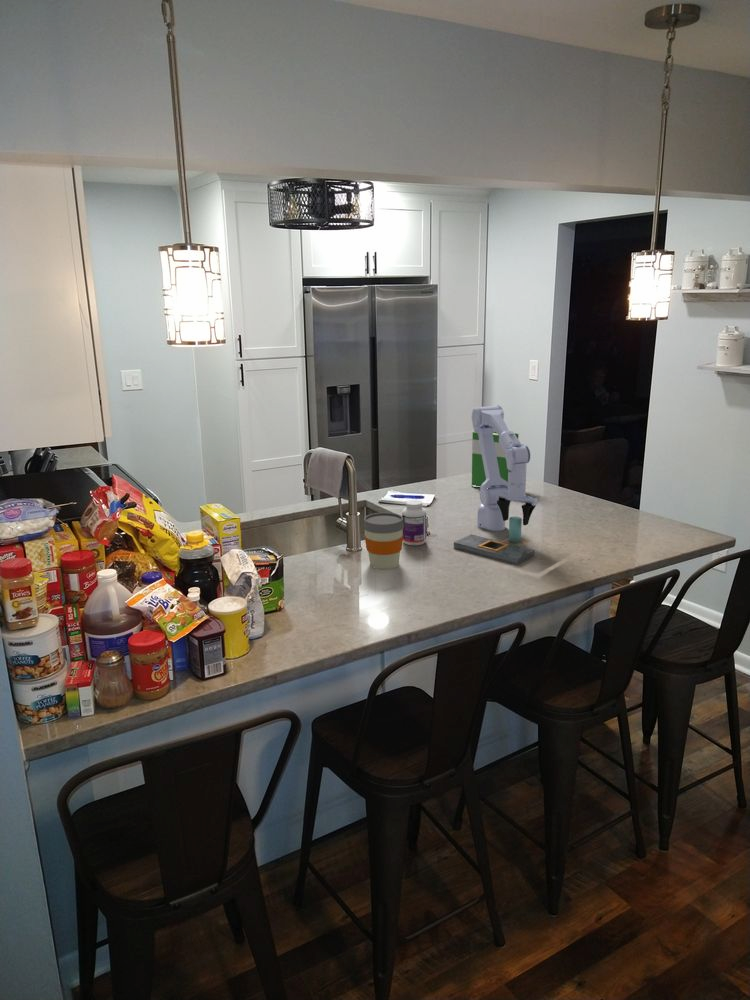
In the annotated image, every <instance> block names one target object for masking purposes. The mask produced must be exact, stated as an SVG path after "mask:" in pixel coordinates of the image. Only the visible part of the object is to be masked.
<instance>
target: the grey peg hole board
mask: <svg viewBox="0 0 750 1000" xmlns="http://www.w3.org/2000/svg"><path fill="white" fill-rule="evenodd" d="M500 541H501V540H495V539H492V538H487V537H484V536H481V535H475V534H472V533H471V534H469V535H467V536H464V537H462V538H460V539H458V540H455V541H453V549H457V550H460V551H464V552H468V553H471V554H474V555H479V556H482V557H485V558H490V559H493V560H497V561H501V562H505V563H508V564H512V565H515V566H518V565H521V564H522V563H524V562H526V561H528V560H529V559H532V558H533V557H535V549H532V548H529V547H525V546H524V547H523V546H517V545H512V544H508V543H504V542H500ZM455 551H456V550H455ZM457 552H458V551H456V553H457ZM466 555H469V554H466ZM477 558H480V557H478V556H477ZM503 565H505V566H506V564H503ZM515 566H514V568H516V569H517V567H515Z"/></svg>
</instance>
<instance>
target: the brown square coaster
mask: <svg viewBox="0 0 750 1000" xmlns="http://www.w3.org/2000/svg"><path fill="white" fill-rule="evenodd" d="M499 541H500V542H504V543H508V544H512V545H517V546H521V547H523V546H524V545H526V544H528V543H529V542H532V540H531V539H526V538H522V537H521V542H520V543H511V542H509V536H507V537H505V538H503V539H501V540H499Z"/></svg>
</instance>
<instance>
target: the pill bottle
mask: <svg viewBox="0 0 750 1000" xmlns="http://www.w3.org/2000/svg"><path fill="white" fill-rule="evenodd" d="M401 514H402V515H401V516H402V517H403V522H404V528H403V532H402V534H403V544H405V545H407V546H415V547H416V546H421V545H424V544H425V543H426V542H427V510H426V509H425V508H424V507H423V501H422V500H419V499H410V500H409V499H408V500H407V501H406V502H405V508H403V509H402V511H401Z"/></svg>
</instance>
